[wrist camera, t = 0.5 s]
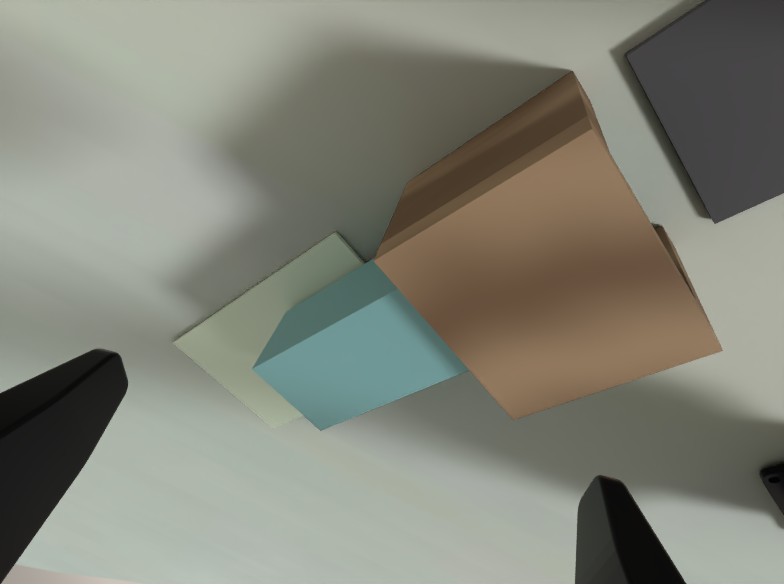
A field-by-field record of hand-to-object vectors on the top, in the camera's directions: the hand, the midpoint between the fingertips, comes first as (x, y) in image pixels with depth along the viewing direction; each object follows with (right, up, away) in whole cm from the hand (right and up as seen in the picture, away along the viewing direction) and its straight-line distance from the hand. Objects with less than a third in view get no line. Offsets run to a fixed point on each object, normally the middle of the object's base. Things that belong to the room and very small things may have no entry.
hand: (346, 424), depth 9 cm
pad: (-4, 0, +17) cm, 18 cm away
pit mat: (+13, +9, +6) cm, 17 cm away
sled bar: (+2, +3, +13) cm, 14 cm away
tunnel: (+7, +5, +10) cm, 13 cm away
